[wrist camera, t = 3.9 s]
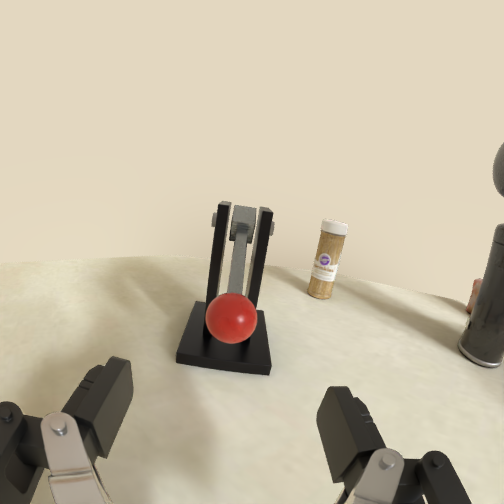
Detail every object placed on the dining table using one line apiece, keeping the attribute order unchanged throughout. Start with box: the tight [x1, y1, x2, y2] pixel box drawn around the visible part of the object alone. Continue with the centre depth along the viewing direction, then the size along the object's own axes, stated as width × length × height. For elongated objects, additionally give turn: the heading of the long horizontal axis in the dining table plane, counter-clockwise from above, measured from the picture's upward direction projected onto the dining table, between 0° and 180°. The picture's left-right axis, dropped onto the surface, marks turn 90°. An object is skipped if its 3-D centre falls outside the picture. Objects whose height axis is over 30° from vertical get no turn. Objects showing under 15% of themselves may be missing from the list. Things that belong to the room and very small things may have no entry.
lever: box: [206, 205, 257, 344], centre depth 23 cm, size 14×4×4 cm, turn 2°
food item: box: [466, 278, 483, 314], centre depth 43 cm, size 14×8×10 cm, turn 14°
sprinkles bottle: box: [307, 219, 348, 299], centre depth 47 cm, size 5×5×14 cm
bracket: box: [176, 201, 274, 375], centre depth 28 cm, size 12×9×15 cm
